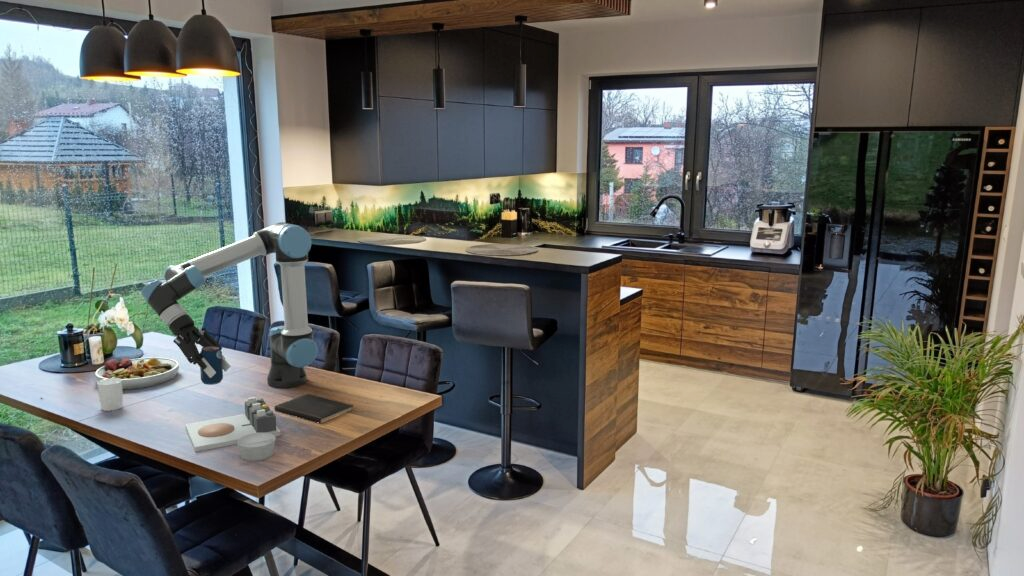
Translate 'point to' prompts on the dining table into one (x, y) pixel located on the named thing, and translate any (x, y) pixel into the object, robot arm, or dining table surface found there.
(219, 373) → the soda can
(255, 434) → the ramekin
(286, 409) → the hardcover book
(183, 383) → the dining table surface
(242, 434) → the breaker board
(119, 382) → the white cup
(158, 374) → the bowl
